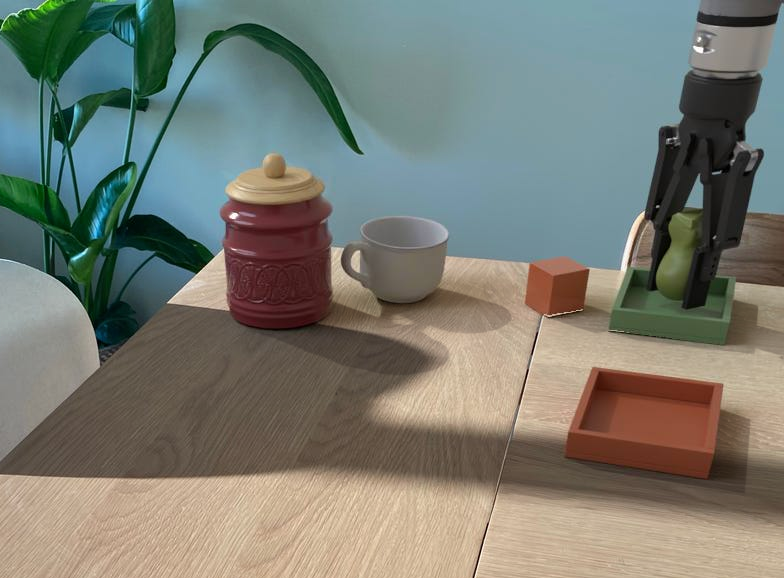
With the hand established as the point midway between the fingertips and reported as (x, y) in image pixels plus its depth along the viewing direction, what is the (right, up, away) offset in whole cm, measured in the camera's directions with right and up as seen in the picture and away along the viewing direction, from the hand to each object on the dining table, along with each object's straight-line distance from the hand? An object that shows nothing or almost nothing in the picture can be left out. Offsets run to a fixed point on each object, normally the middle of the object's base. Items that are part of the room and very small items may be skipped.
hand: (675, 297), depth 114 cm
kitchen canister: (-46, 0, +6) cm, 47 cm away
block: (-13, 0, +4) cm, 14 cm away
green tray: (0, -2, +1) cm, 2 cm away
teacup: (-33, +3, +8) cm, 34 cm away
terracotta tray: (-11, -20, -20) cm, 30 cm away
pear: (0, 0, 0) cm, 0 cm away
